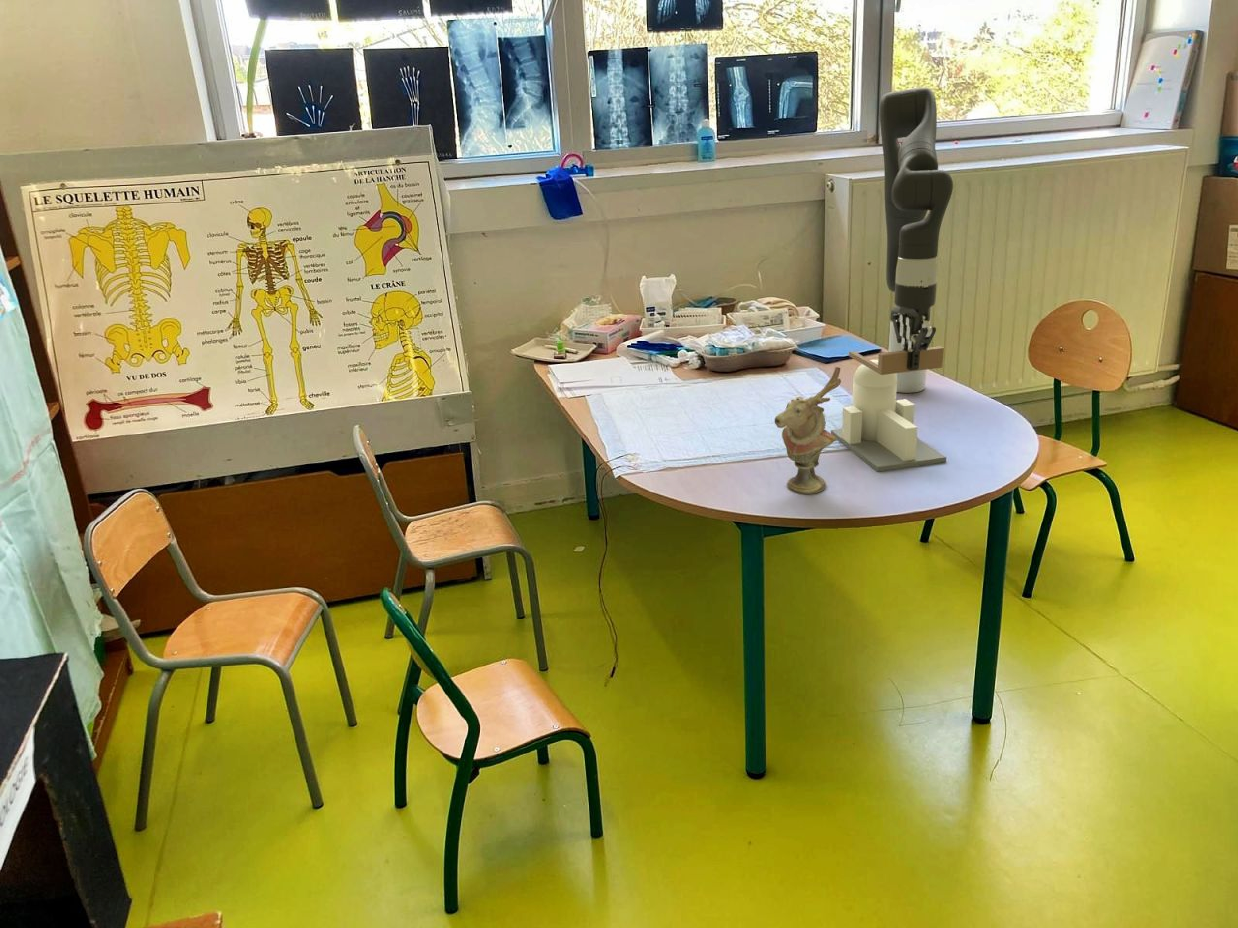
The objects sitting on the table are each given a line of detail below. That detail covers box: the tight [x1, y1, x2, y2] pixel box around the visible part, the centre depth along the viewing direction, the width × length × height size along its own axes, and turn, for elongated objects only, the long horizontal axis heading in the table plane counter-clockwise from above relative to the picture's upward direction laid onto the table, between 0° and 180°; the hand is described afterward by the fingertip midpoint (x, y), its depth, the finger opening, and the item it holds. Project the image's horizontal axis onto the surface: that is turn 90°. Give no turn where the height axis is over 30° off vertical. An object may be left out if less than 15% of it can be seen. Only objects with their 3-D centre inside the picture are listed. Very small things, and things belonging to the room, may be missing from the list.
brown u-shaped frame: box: [848, 345, 945, 375], centre depth 187 cm, size 14×13×4 cm
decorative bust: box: [774, 366, 842, 495], centre depth 175 cm, size 11×13×25 cm
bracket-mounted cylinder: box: [830, 359, 947, 472], centre depth 194 cm, size 22×15×18 cm, turn 12°
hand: (910, 368), depth 182 cm, fingers closed on brown u-shaped frame, 1 cm apart
